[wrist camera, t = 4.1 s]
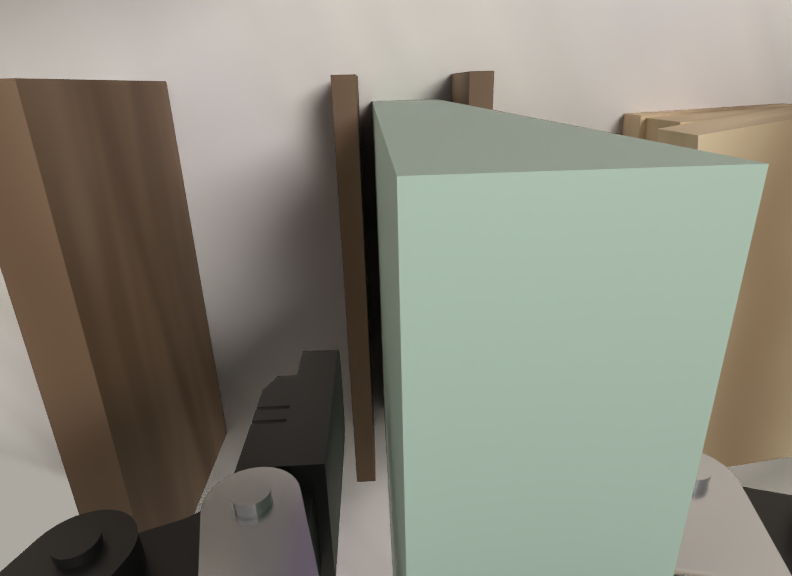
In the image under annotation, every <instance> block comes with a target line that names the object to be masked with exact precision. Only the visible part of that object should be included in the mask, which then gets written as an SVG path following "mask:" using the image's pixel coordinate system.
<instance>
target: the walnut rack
mask: <svg viewBox="0 0 792 576" xmlns="http://www.w3.org/2000/svg"><path fill="white" fill-rule="evenodd" d="M493 86H494V71H470V72H463V73H455V74H452V75H451V102H454V103H459V104H465V105H470V106H475V107H480V108H485V109H490V110H493ZM331 88H332V104H333V119H334V134H335V150H336V165H337V180H338V196H339V211H340V226H341V241H342V257H343V272H344V287H345V303H346V318H347V333H348V349H349V364H350V379H351V394H352V410H353V425H354V440H355V456H356V471H357V482H365V481H375V432H374V407H373V387H372V366H371V345H370V324H369V303H368V282H367V261H366V240H365V220H364V199H363V178H362V157H361V136H360V115H359V94H358V76H357V75H355V74H354V75H331ZM0 267H1V271H2V274H3V277H4V280H5V283H6V286H7V289H8V293H9V296H10V299H11V302H12V305H13V308H14V311H15V315H16V318H17V321H18V324H19V327H20V330H21V333H22V336H23V340H24V343H25V346H26V349H27V352H28V355H29V358H30V362H31V365H32V368H33V371H34V374H35V377H36V380H37V384H38V387H39V390H40V393H41V396H42V399H43V402H44V405H45V409H46V412H47V415H48V418H49V421H50V424H51V427H52V431H53V434H54V437H55V440H56V443H57V446H58V449H59V453H60V456H61V459H62V462H63V465H64V468H65V471H66V474H67V478H68V481H69V483H70V487H71V490H72V493H73V496H74V500H75V503H76V506H77V509H78V512H79V515H81V514H84V513H87V512H91V511H97V510H118V511H122V512H125V513H127V514H128V515H130V516H131V517H132V518H133V519H134V520H135V522H136V524H137V526H138V530H139V532H142V531H146V530H149V529H152V528H156V527H159V526H162V525H166V524H169V523H172V522H176V521H179V520H182V519H185V518H187V517H190V516H192V515H194V513H195V510H196V508H197V505H198V503H199V500H200V498H201V495H202V493H203V490H204V488H205V485H206V483H207V480H208V478H209V476H210V473H211V471H212V468H213V466H214V463H215V461H216V458H217V456H218V453H219V451H220V448H221V446H222V444H223V441H224V439H225V436H226V434H227V432H226V426H225V420H224V414H223V409H222V403H221V397H220V391H219V386H218V380H217V374H216V368H215V362H214V357H213V351H212V345H211V339H210V333H209V328H208V322H207V316H206V310H205V304H204V299H203V293H202V287H201V281H200V276H199V270H198V264H197V258H196V252H195V247H194V241H193V235H192V229H191V223H190V218H189V212H188V206H187V200H186V194H185V189H184V183H183V177H182V171H181V165H180V160H179V154H178V148H177V142H176V137H175V131H174V125H173V119H172V113H171V108H170V102H169V96H168V90H167V84H166V81H118V80H70V79H21V78H10V79H0Z"/></svg>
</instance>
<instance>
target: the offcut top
mask: <svg viewBox="0 0 792 576" xmlns="http://www.w3.org/2000/svg"><path fill="white" fill-rule="evenodd" d="M658 142H660V143H665V144H671V145H676V146H681V147H686V148H691V149H696V150H701V151H707V152H712V153H717V154H722V155H727V156H732V157H737V158H743V159H748V160H753V161H758V162H763V163H768V164H769V166H768V170H767V175H766V179H765V183H764V188H763V192H762V196H761V201H760V205H759V209H758V214H757V218H756V222H755V226H754V231H753V235H752V239H751V244H750V248H749V252H748V257H747V261H746V265H745V270H744V274H743V278H742V282H741V287H740V291H739V295H738V300H737V304H736V308H735V313H734V317H733V321H732V326H731V330H730V334H729V338H728V343H727V347H726V351H725V356H724V360H723V364H722V369H721V373H720V377H719V382H718V386H717V390H716V395H715V399H714V403H713V407H712V412H711V416H710V420H709V425H708V429H707V433H706V438H705V442H704V446H703V451H702V453H703V454H706V455H708V456H710V457H712V458H714V459H716V460H717V461H719V462H720V463H722V464H723V465H724V466H726V467H730V466H736V465H742V464H748V463H754V462H760V461H766V460H772V459H778V458H784V457H790V456H792V105H791V106H785V107H779V108H773V109H768V110H762V111H756V112H751V113H745V114H739V115H733V116H728V117H722V118H716V119H711V120H705V121H699V122H693V123H688V124H682V125H676V126H671V127H665V128H659V129H658Z"/></svg>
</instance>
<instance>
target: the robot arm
mask: <svg viewBox="0 0 792 576" xmlns="http://www.w3.org/2000/svg"><path fill="white" fill-rule="evenodd" d="M344 440H345V426H344V407H343V393H342V379H341V365H340V355H339V350H323V351H304V352H303V354H302V358H301V362H300V366H299V370H298V374H297V375H292V376H278V377H277V378H275V379H274V380H273V381H272V382H271V383H270V384H269V385H268V386H267V387H266V388H265V389H264V390H263V391H262V394H261V397H260V400H259V403H258V406H257V410H256V412H255V415H254V417H253V420H252V424H251V426H250V429H249V432H248V435H247V438H246V441H245V444H244V447H243V449H242V452H241V455H240V458H239V461H238V464H237V467H236V470H235V473H234V474H232V475H230V476H228V477H227V478H225V479H223V480H222V481H220V482H219V483H218V484H217V485H216V486H214V487H213V488H212V489H211V491H210V492H209V493H208V494H207V496H206V497H205V499H204V501H203V504H202V506H201V511H200V512H198V513H196V514H194V515H192V516H190V517H187V518H185V519H182V520H179V521H176V522H172V523H169V524H166V525H162V526H159V527H156V528H152V529H149V530H146V531H142V532H139V530H138V526H137V524H136V522H135V520H134V519H133V518H132V517H131V516H130V515H128V514H127V513H125V512H122V511H118V510H97V511H91V512H87V513H84V514H81V515H78V516H75V517H73V518H70V519H68V520H66V521H64V522H62V523H60V524H58V525H56V526H55V527H53V528H52V529H50V530H49V531H47V532H46V533H44V534H43V535H42V536H41V537H39V538H38V539H37V540H36V541H35V542H34V543H32V544H31V545H30V546H29V547H28V548H27V549H26V550H25V551H23V553H21V554H20V555H19V556H18V557H17V558H15V559H14V560H13V561H12V562H11V563H10V564H9V565H8V566H7V567H5V568H4V569H3V570H2V571H1V572H0V576H336V564H337V549H338V534H339V518H340V503H341V488H342V473H343V457H344ZM674 576H792V495H787V494H781V493H775V492H769V491H763V490H757V489H751V488H747V487H742V485H741V484H740V482H739V480H738V479H737V477H736V476H735V475H734V474H733V473H732V472H731V471H730V470H729V469H728V468H727V467H726V466H724V465H723V464H722V463H720V462H719V461H717V460H716V459H714V458H712V457H710V456H708V455H706V454H703V453H702V455H701V459H700V463H699V468H698V472H697V476H696V481H695V485H694V489H693V494H692V498H691V502H690V507H689V511H688V515H687V520H686V524H685V528H684V532H683V537H682V541H681V545H680V550H679V554H678V558H677V563H676V567H675V571H674Z"/></svg>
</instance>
